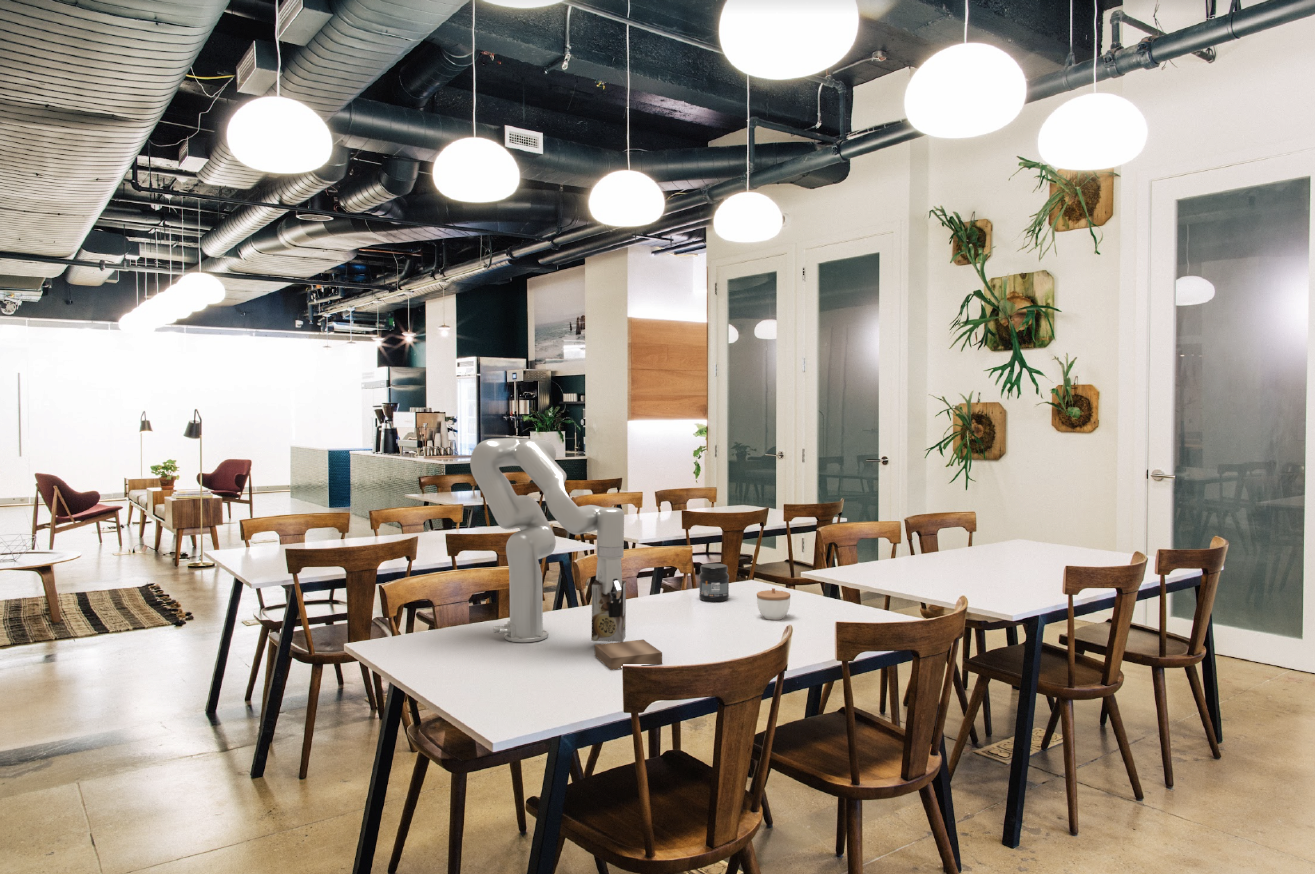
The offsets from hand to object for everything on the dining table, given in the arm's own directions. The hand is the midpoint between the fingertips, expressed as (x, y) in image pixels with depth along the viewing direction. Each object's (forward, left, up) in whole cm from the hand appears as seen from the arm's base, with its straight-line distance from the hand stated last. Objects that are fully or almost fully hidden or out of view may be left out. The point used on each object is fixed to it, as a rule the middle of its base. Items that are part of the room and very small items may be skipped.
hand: (609, 613), depth 237 cm
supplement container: (+53, +45, -10) cm, 70 cm away
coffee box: (0, 0, -8) cm, 8 cm away
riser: (0, -14, -9) cm, 17 cm away
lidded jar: (+59, +13, -10) cm, 62 cm away
